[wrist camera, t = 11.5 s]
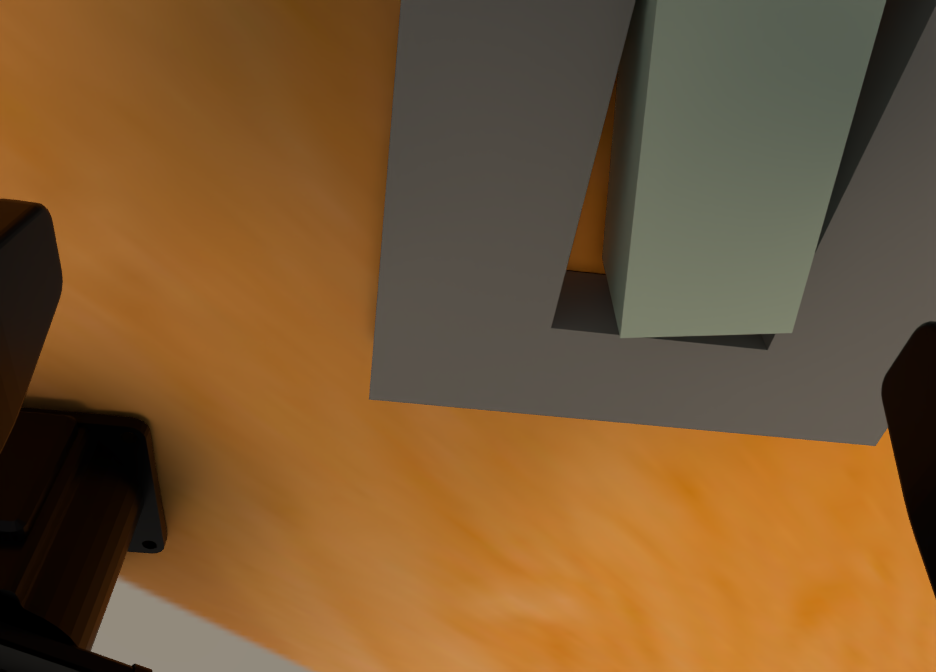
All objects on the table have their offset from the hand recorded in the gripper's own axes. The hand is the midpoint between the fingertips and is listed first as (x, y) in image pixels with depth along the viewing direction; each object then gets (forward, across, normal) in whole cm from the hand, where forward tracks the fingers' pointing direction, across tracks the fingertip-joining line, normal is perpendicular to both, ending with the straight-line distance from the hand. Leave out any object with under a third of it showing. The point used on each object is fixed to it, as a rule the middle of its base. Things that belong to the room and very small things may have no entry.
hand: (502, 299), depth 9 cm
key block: (+12, -6, +2) cm, 13 cm away
